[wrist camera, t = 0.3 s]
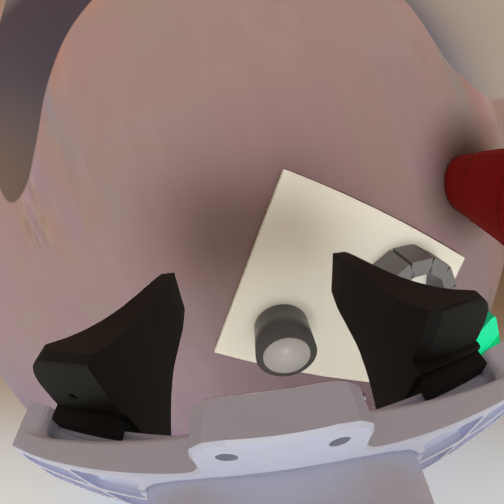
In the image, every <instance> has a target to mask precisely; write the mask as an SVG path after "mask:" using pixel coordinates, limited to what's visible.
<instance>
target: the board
mask: <svg viewBox="0 0 504 504" xmlns="http://www.w3.org/2000/svg"><path fill="white" fill-rule="evenodd" d="M338 252H348V253H350V254H353V255H355V256H357V257H359V258H361V259H363V260H365V261H367V262H369V263H371V264H373V265H375V266H377V267H379V268H381V269H383V270H386V271H388V272H390V273H392V274H395V275H397V276H400V277H403V278H406V279H409V280H412V281H415V282H418V283H422V284H426V285H431V286H435V287H441V288H448V289H456V285H455V284H456V281H455V277H456V275H457V273H458V271H459V269H460V267H461V265H462V263H463V261H464V259H465V258H464V257H462V256H461V255H459V254H457V253H456V252H454V251H452V250H451V249H449V248H447V247H446V246H444V245H442V244H441V243H439V242H437V241H435V240H434V239H432V238H430V237H428V236H427V235H425V234H423V233H421V232H419V231H418V230H416V229H414V228H412V227H410V226H408V225H406V224H405V223H403V222H401V221H399V220H397V219H395V218H393V217H391V216H389V215H387V214H385V213H383V212H381V211H379V210H377V209H375V208H373V207H371V206H369V205H367V204H365V203H362V202H360V201H358V200H356V199H354V198H352V197H350V196H347V195H345V194H343V193H341V192H338V191H336V190H334V189H332V188H329V187H327V186H325V185H322V184H320V183H317V182H315V181H313V180H310V179H308V178H305V177H303V176H300V175H298V174H295V173H293V172H290V171H288V170H285V169H282V172H281V174H280V177H279V180H278V182H277V185H276V187H275V190H274V193H273V195H272V198H271V201H270V203H269V206H268V209H267V211H266V214H265V216H264V219H263V222H262V224H261V227H260V230H259V232H258V235H257V237H256V240H255V243H254V245H253V248H252V251H251V253H250V256H249V259H248V261H247V264H246V266H245V269H244V272H243V274H242V277H241V280H240V282H239V285H238V288H237V290H236V293H235V296H234V298H233V301H232V303H231V306H230V309H229V311H228V314H227V317H226V319H225V322H224V325H223V327H222V330H221V333H220V335H219V338H218V340H217V343H216V346H215V351H214V352H216V353H220V354H223V355H227V356H231V357H234V358H238V359H242V360H246V361H251V362H255V363H257V362H256V354H255V334H254V325H255V321H256V319H257V317H258V316H259V315H260V314H261V313H262V312H263V311H264V310H266V309H267V308H269V307H271V306H274V305H279V304H288V305H293V306H296V307H298V308H299V309H301V310H302V311H303V312H304V313H305V315H306V317H307V319H308V322H309V325H310V328H311V331H312V334H313V337H314V340H315V343H316V346H317V355H316V358H315V360H314V361H313V363H312V364H311V365H310V366H309V367H308V368H307V369H305V370H304V371H302V372H303V373H308V374H314V375H320V376H326V377H333V378H340V379H348V380H356V381H364V382H369V379H368V375H367V372H366V369H365V366H364V363H363V360H362V357H361V354H360V352H359V349H358V347H357V345H356V342H355V340H354V339H353V337H352V335H351V333H350V331H349V329H348V327H347V325H346V323H345V322H344V320H343V318H342V316H341V314H340V312H339V310H338V308H337V306H336V303H335V300H334V298H333V295H332V292H331V285H332V261H333V253H338Z"/></svg>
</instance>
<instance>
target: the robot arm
mask: <svg viewBox="0 0 504 504" xmlns="http://www.w3.org/2000/svg"><path fill="white" fill-rule="evenodd" d="M331 292H332V295H333V298H334V300H335V303H336V306H337V308H338V310H339V312H340V314H341V316H342V318H343V320H344V322H345V323H346V325H347V327H348V329H349V331H350V333H351V335H352V337H353V339H354V340H355V342H356V345H357V347H358V349H359V352H360V354H361V357H362V360H363V363H364V366H365V369H366V372H367V375H368V379H369V382H370V385H371V389H372V393H373V397H374V401H375V406H376V409H375V410H369V409H368V406H367V404H366V401H365V400H366V396H364V395H363V394H362V391H361V389H360V386H357V385H355V384H353V383H350V382H348V381H330V382H321V383H316V384H311V385H306V386H300V387H294V388H287V389H280V390H273V391H265V392H256V393H247V394H235V395H224V396H220V397H215V398H210V399H206V400H204V401H202V402H201V403H199V404H198V405H197V406H195V407H194V408H193V409H192V411H191V422H190V433H189V434H187V435H180V436H171V391H172V378H173V370H174V364H175V360H176V355H177V351H178V347H179V342H180V338H181V334H182V329H183V322H184V311H185V309H184V305H183V302H182V299H181V295H180V292H179V288H178V285H177V281H176V278H175V274H174V273H168V274H161V275H160V276H158V277H157V278H156V279H155V280H153V281H152V282H151V283H150V284H149V285H148V286H147V287H145V288H144V289H143V290H142V291H141V292H140V293H139V294H137V295H136V296H135V297H134V298H133V299H131V300H130V301H129V302H128V303H126V304H125V305H124V306H123V307H121V308H120V309H119V310H117V311H116V312H115V313H113V314H112V315H110V316H109V317H107V318H105V319H104V320H102V321H100V322H99V323H97V324H95V325H93V326H91V327H90V328H88V329H86V330H84V331H81V332H79V333H77V334H75V335H72V336H70V337H67V338H65V339H62V340H59V341H56V342H52V343H49V344H46V345H45V346H44V348H43V349H42V351H41V352H40V354H39V356H38V357H37V359H36V361H35V362H34V365H33V371H34V374H35V376H36V378H37V380H38V381H39V383H40V384H41V385H42V387H43V388H44V389H45V390H46V391H47V393H48V394H49V395H50V396H51V397H52V398H53V400H54V401H55V402H56V403H57V404H58V405H57V407H56V409H55V410H54V409H53V408H51V407H49V406H46V405H43V404H39V403H36V402H31V403H30V405H29V407H28V409H27V412H26V414H25V416H24V418H23V421H22V423H21V425H20V428H19V430H18V432H17V435H16V437H15V440H14V443H13V448H14V449H16V450H17V451H18V452H19V453H21V454H22V455H23V456H25V457H26V458H27V459H29V460H30V461H31V462H33V463H34V464H36V465H37V466H38V467H40V468H41V469H43V470H44V471H46V472H47V473H49V474H50V475H52V476H54V477H56V478H59V479H61V480H64V481H66V482H68V483H71V484H73V485H76V486H79V487H81V488H84V489H87V490H89V491H92V492H95V493H98V494H101V495H104V496H107V497H110V498H113V499H116V500H120V501H124V502H127V503H131V504H434V501H433V499H432V496H431V493H430V490H429V487H428V485H427V482H426V479H425V477H424V474H423V471H422V470H423V469H425V468H426V467H428V466H430V465H432V464H434V463H435V462H437V461H439V460H441V459H442V458H444V457H446V456H447V455H449V454H450V453H452V452H454V451H455V450H457V449H458V448H460V447H461V446H463V445H464V444H466V443H467V442H469V441H470V440H472V439H473V438H474V437H475V436H477V435H478V434H480V433H481V432H482V431H484V430H485V429H487V428H488V427H489V426H491V425H492V424H493V423H495V422H496V421H497V420H498V419H500V418H501V417H502V416H503V415H504V343H503V342H500V343H499V344H497V345H495V346H494V347H492V348H490V349H488V350H487V351H486V352H485V353H484V354H483V355H481V354H480V353H479V351H478V350H479V349H480V344H479V343H478V342H477V341H476V340H477V338H478V336H479V334H480V332H481V330H482V327H483V325H484V323H485V320H486V317H487V313H488V303H487V302H486V300H485V299H484V298H483V297H482V296H481V295H480V294H479V293H478V292H476V291H473V290H456V289H448V288H441V287H435V286H431V285H426V284H422V283H418V282H415V281H412V280H409V279H406V278H403V277H400V276H397V275H395V274H392V273H390V272H388V271H386V270H383V269H381V268H379V267H377V266H375V265H373V264H371V263H369V262H367V261H365V260H363V259H361V258H359V257H357V256H355V255H353V254H350V253H348V252H338V253H333V261H332V285H331Z"/></svg>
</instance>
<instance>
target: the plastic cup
mask: <svg viewBox="0 0 504 504" xmlns="http://www.w3.org/2000/svg"><path fill="white" fill-rule="evenodd" d="M445 191H446V195H447V199H448V200H449V202H450V203H451V205H452V206H453V207H454V208H455V209H456V210H457V211H459V212H460V213H462V214H463V215H465V216H466V217H468V218H469V219H470V221H472V222H473V223H475V224H476V225H477V226H479V227H480V228H482V229H483V230H484V231H486V232H487V233H488V234H490V235H491V236H492V237H494V238H495V239H496V240H498V241H499V242H500V243H501V244H503V245H504V149H496V150H488V151H481V152H478V153H473V154H465V155H461V156H459V157H457V158H455V159H453V160H452V162H451V163H450V165H449V166H448V168H447V172H446V176H445Z"/></svg>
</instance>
